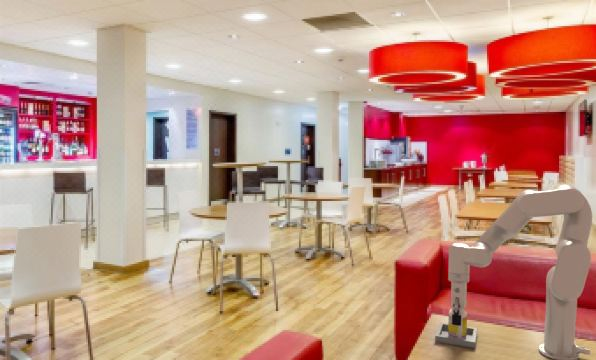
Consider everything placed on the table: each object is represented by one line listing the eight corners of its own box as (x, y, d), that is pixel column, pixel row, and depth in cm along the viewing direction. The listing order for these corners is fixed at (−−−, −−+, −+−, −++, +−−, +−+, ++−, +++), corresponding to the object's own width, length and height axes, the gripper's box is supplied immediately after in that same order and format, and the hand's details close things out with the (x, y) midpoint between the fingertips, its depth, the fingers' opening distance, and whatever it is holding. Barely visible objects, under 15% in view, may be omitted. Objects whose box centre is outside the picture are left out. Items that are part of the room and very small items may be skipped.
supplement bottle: (464, 333, 187) (465, 301, 185) (468, 341, 180) (469, 307, 179) (446, 333, 187) (447, 301, 186) (450, 340, 181) (450, 307, 180)
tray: (477, 334, 187) (477, 328, 187) (474, 348, 175) (475, 342, 174) (439, 328, 193) (440, 322, 193) (435, 342, 180) (435, 335, 180)
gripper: (467, 284, 172) (466, 330, 174) (471, 271, 188) (469, 314, 189) (445, 281, 175) (444, 327, 177) (450, 269, 191) (449, 311, 192)
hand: (457, 320), depth 183 cm, fingers open, 9 cm apart
